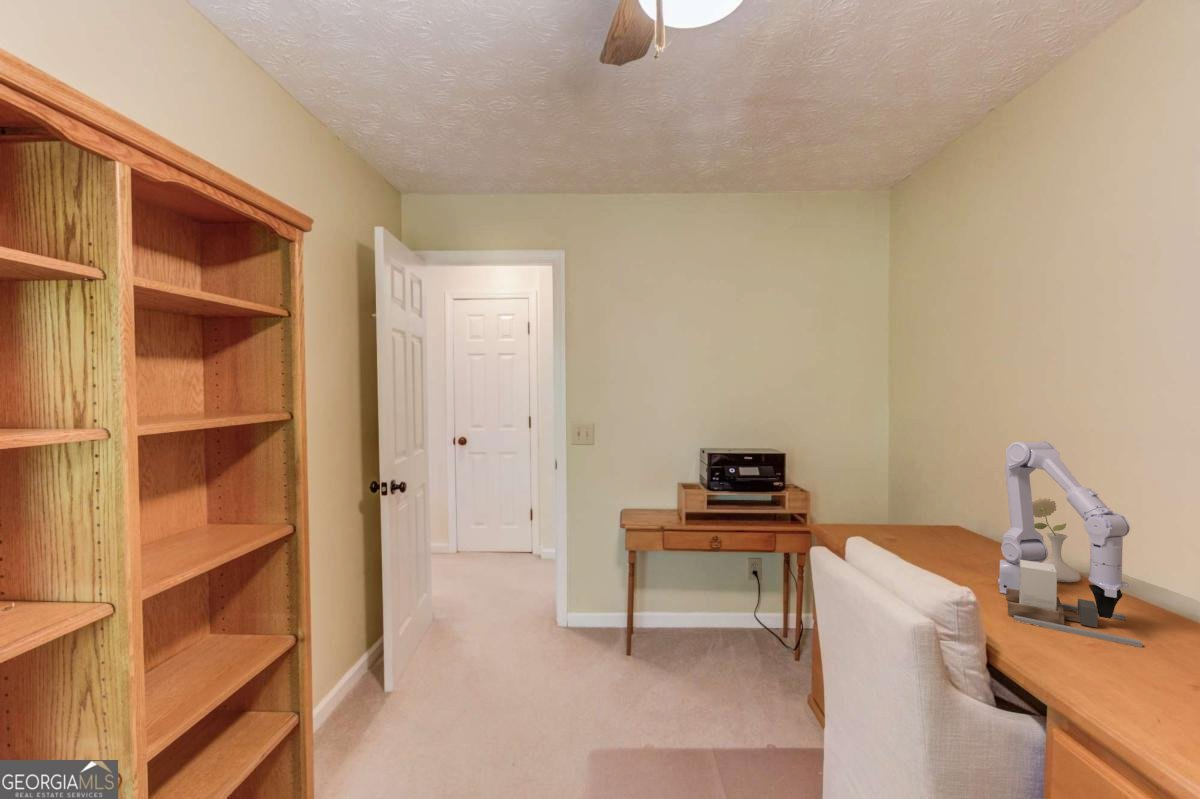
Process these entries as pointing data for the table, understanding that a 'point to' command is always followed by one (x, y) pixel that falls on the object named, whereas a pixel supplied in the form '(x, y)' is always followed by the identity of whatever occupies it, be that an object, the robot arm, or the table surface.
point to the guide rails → (1082, 631)
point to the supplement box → (1038, 585)
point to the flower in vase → (1054, 541)
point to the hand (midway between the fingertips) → (1104, 616)
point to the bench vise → (1084, 616)
